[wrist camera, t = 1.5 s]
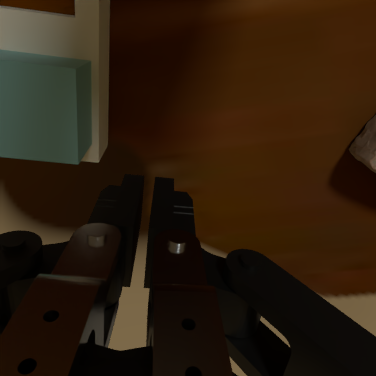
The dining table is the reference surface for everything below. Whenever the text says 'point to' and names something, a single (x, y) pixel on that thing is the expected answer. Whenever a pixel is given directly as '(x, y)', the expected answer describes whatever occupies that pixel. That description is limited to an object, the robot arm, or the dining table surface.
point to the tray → (68, 50)
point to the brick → (366, 145)
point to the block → (45, 107)
